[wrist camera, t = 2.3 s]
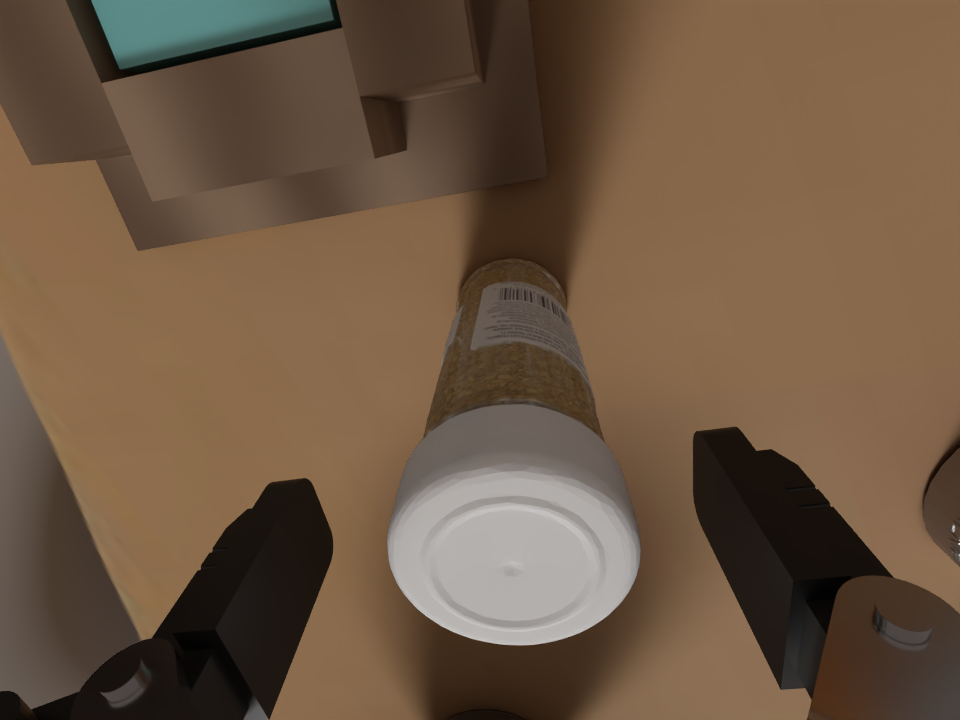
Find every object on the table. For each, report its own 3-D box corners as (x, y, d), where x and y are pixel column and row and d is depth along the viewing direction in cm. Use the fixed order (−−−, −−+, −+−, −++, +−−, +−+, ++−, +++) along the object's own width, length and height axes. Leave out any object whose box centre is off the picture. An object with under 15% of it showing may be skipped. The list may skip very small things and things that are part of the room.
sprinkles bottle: (435, 314, 21) (330, 574, 9) (507, 230, 19) (497, 409, 7) (517, 379, 22) (522, 689, 10) (592, 304, 21) (705, 567, 8)
